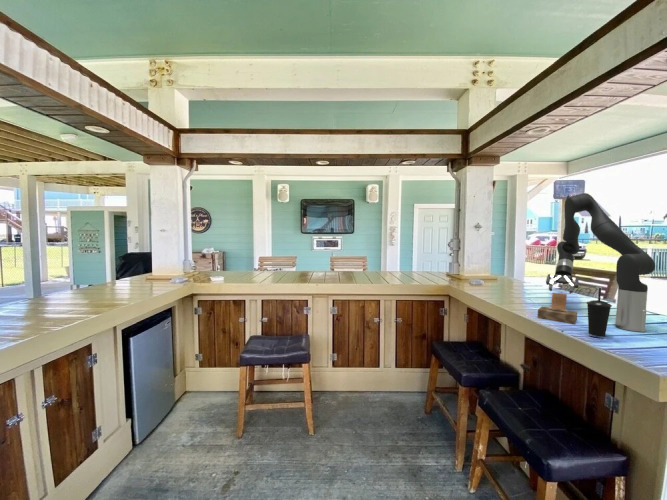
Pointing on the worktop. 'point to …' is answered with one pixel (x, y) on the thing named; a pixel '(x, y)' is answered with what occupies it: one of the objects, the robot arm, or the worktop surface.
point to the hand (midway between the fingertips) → (560, 291)
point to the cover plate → (559, 301)
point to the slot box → (557, 315)
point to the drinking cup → (598, 316)
